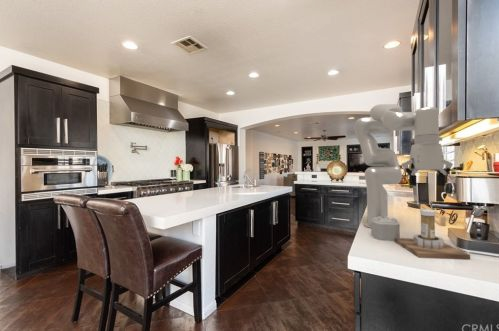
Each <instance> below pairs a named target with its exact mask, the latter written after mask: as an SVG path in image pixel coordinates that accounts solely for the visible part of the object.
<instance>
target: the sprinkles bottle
mask: <svg viewBox="0 0 499 331" xmlns="http://www.w3.org/2000/svg"><path fill="white" fill-rule="evenodd" d="M419 211H420V212H419V214H420V234H421V238H422V239H426V240H435V236H436V225H435V219H436V211H435V210H434V209H426V208H424V209H420V210H419Z"/></svg>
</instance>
